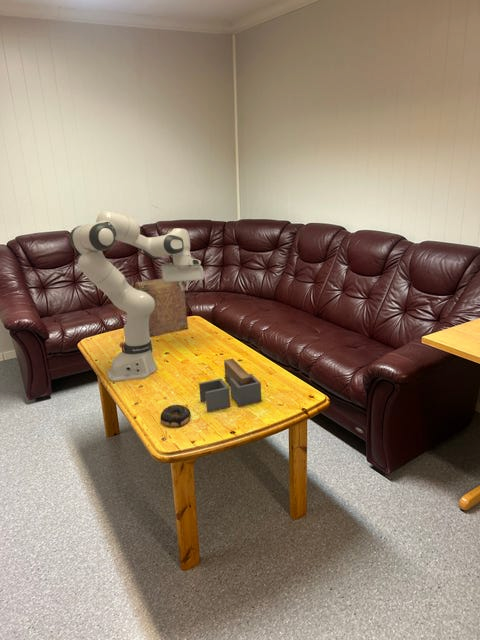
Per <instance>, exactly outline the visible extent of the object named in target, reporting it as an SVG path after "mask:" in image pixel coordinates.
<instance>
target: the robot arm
mask: <svg viewBox="0 0 480 640" xmlns="http://www.w3.org/2000/svg"><path fill="white" fill-rule="evenodd" d="M68 237H69V242H70V244H71V246H72V248H73V249H74V252H75V253H76V254H77V255H78V256H79V258H78V260H77V266H78V267H79V269H80V270H81V272H82V273H83V274H84V275H85V277H87V279H88V280H89V281H90V282H91V283H93V284H94V286H96V287H97V288H98V289H99V290H100V291H102V292H103V294H104V295H106V296H107V297H108V299H109V300H110V301H111V303H112V304H113V306H115V307H116V308H118V309H119V310H121V311H122V312H125V313H126V316H127V317H126V322H125V324H124V325H123V334H124V335H125V343H124V342H120V343H119V348H121V352H120V353H118V355H117V356H115V357H114V358H113V359H112V361H111V367H110V368H109V369H108V370H107V372H106V373H107V374H106V375H107V378H108V380H110V381H111V382H121V380H123V381H129V379H131V380H139V379H146V378H148V377H149V376H150V375H151V374H153V373H155V372H156V371H157V369H158V367H157V364H156V361H155V358H154V355H153V343H152V340H151V337H150V334H149V318H150V314H151V313H152V312H153V310H154V308H155V301H154V299H153V298H152V297H151V296H150V295H149V294H147V293H146V292H143V291H140V290H137V289H136V287H133V286H132V285H131V284H129V282H128V281H127V280H126V277H125V275H124V274H123V273H122V272H121V271H120V270H119V269H118V268H117V267H116V266H115V265H114V264H113V263H111V262H110V261H109V260H108V259H107V258H106V257H105V255H104V253H103V252H104V251H107V250H110V249H111V248H112V247H113V246H114V245H115V241H118V242H121V243H125V244H127V245H130V246H132V247H134V248H137V249H140V250H141V251H142V252H144V253H145V254H146V255H147V256H149V257H150V258H153V259H156V258H159V257H167V256H172V262H168V263H167V262H166V263H165V262H164V263H163V264H162V265H161V267H160V268H161V272H162V278H163V281H164V282H178V283H179V285H180V287H181V291H188V290H189V289H188V287H189V285H190V281H191V282H193V281H203V280H204V279H205V271H204V267H203V266H202V265H201V264H202V261H201V260H199V259H196V258H192V254H191V251H190V250H191V240H190V239H191V238H190V235H189V232H188V230H187V229H185V228H182V227H180V228H179V227H175V228H172V230H171V231H170V232H168V233H166V234H165V235H164V234H163V235H159V236H149V237H148V236H147V237H146V236H145V235H143V234H141V226H140V223H138V221H137V220H135V219H134V218H132V217H130V216H127V215H125V214H123V213H119V212H116V211H111V210H104V211H102V212H100V213H99V214H98V215H97V218H96V220H95V223H88V224H87V223H86V224H83V225H78V226H76V227H74V228H73V229H72V230H71V231H70V233H69V236H68ZM182 281H184V282H185V284H186V285H185V286H184V287H183V286H182V285H181V284H182ZM124 335H123V336H124Z"/></svg>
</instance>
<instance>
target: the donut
mask: <svg viewBox="0 0 480 640" xmlns="http://www.w3.org/2000/svg"><path fill="white" fill-rule="evenodd" d="M191 415H192V414H191V410H190V409H189V407H187V406H184V405H181V404H171V405H169V406H167V407H165V408H164V409H163V410H162V412H161V414H160V422H161V424H163V425H164V426H167V427H170V428H171V427H172V428H174V427H175V428H176V427H181V426H185V425H186V424H187V423H188V422H189V421H190V419H191Z"/></svg>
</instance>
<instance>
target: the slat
mask: <svg viewBox="0 0 480 640" xmlns="http://www.w3.org/2000/svg"><path fill="white" fill-rule="evenodd" d="M223 362H224V363H223V364H224V365H223V366H224V367H223V368H224V382H225V383H226V385H227V386H228V387H230V378H233V379H234V380H235V381H236V382H237V383H238V384H239V385H240V386H242V385H247V384H251V376H250V375H249V374H250V373H248V372H247V371H246V370H245V369H244V368H243V367H242V366H241V365H240V364H239V363H238V362H237V361H236V360H235V359H234V358H228V359H224V360H223Z"/></svg>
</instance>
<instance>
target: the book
mask: <svg viewBox="0 0 480 640" xmlns="http://www.w3.org/2000/svg"><path fill="white" fill-rule="evenodd" d="M134 284H135V289H137V290H140V291H143V292H146V293H147V294H149V295H150V296H151V297H152V298H153V299H154V301H155V308H154V310H153V312H152V313H151V314H150V318H149V334H150V338H154V337H159V336H162V335H168V334H171V333H175V332H180V331H184V330H185V331H186V330H188V329H189V326H188V325H189V324H188V313H187V303H186V292H185V291H181V287H180V285H179V283H178V282H164V281H163V277H161V278H157V279H151V280H144V281H143V280H142V281H138V282H135V283H134ZM181 285H182V286H183V287H185V281H182V284H181Z"/></svg>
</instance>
